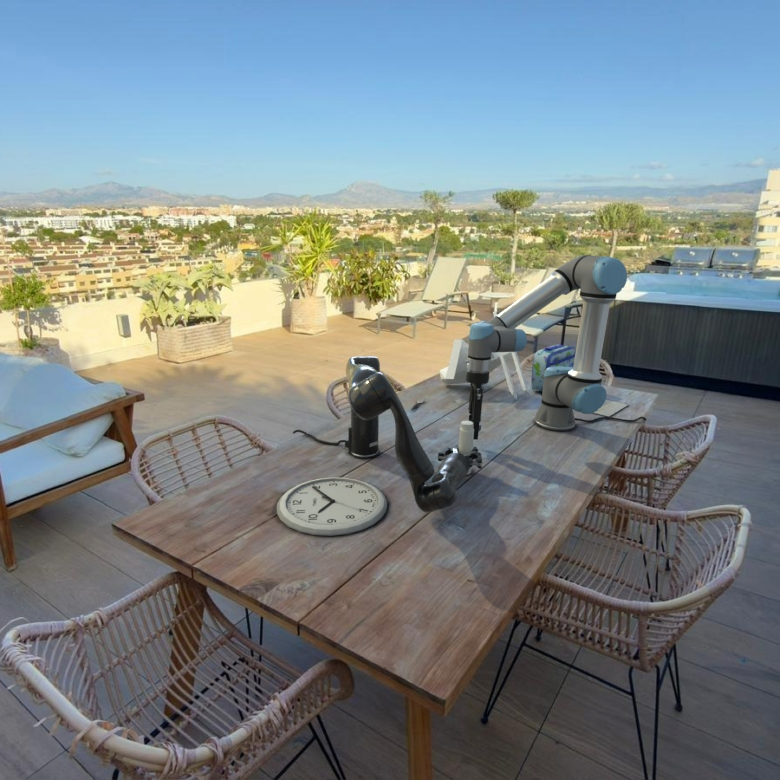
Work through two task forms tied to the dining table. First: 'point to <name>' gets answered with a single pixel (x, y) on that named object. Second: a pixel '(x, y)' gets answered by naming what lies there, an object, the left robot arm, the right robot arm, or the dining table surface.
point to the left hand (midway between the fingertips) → (467, 448)
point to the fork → (418, 402)
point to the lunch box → (550, 362)
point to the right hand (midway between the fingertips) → (472, 435)
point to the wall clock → (331, 506)
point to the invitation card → (610, 408)
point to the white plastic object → (459, 368)
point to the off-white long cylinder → (466, 438)
